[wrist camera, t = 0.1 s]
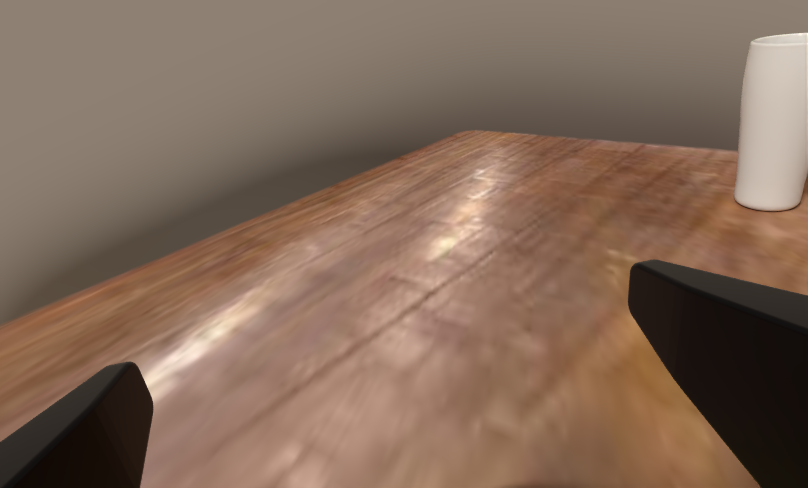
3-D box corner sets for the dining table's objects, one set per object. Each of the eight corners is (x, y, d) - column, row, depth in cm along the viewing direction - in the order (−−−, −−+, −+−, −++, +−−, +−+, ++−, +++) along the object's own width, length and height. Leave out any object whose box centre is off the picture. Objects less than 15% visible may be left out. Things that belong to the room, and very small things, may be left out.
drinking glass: (709, 203, 50) (732, 44, 44) (750, 185, 53) (777, 32, 47) (783, 223, 45) (821, 44, 38) (824, 202, 47) (867, 31, 41)
